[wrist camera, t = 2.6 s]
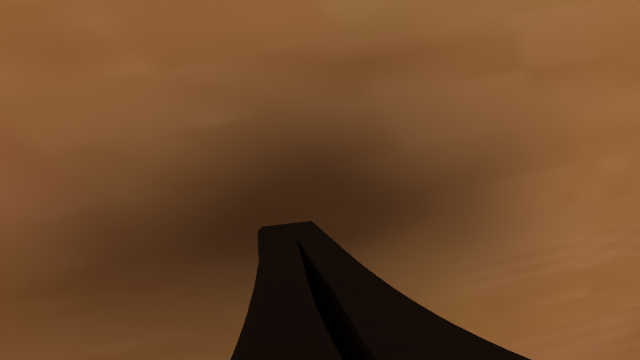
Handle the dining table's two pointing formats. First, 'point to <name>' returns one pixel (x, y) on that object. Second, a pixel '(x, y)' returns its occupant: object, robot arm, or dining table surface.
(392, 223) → the dining table surface
